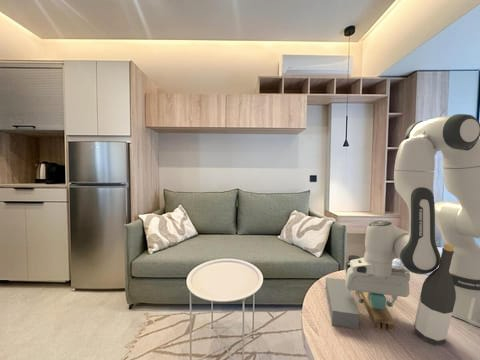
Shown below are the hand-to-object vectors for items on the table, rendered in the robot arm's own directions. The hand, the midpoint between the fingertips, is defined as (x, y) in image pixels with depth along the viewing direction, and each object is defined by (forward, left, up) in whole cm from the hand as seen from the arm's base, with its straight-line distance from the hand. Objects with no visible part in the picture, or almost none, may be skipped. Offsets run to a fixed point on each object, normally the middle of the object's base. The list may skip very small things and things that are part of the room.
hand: (374, 304), depth 90 cm
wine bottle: (-13, +9, -3) cm, 16 cm away
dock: (+12, -1, -3) cm, 12 cm away
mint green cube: (0, +1, 0) cm, 1 cm away
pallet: (0, -1, -4) cm, 4 cm away
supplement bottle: (+3, -21, -3) cm, 21 cm away
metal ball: (0, -3, 0) cm, 3 cm away
